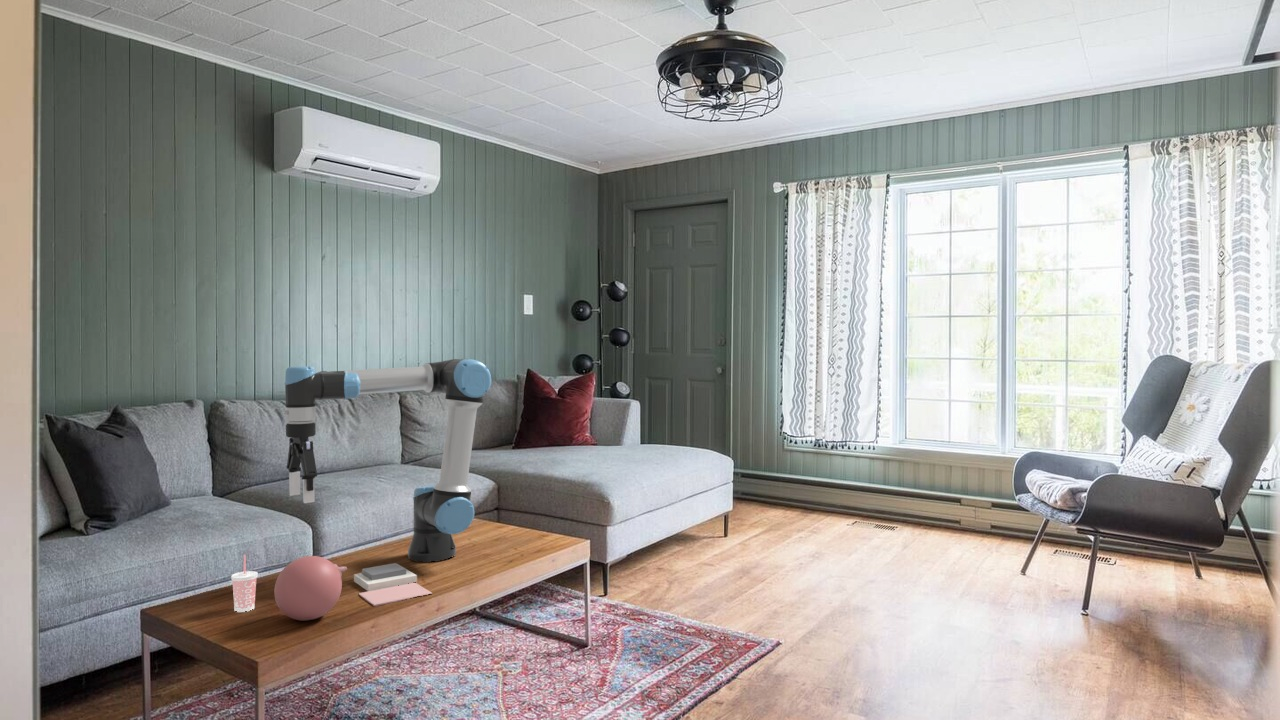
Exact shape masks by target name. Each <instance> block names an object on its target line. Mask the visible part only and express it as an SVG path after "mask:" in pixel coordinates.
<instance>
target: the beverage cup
mask: <svg viewBox="0 0 1280 720" xmlns="http://www.w3.org/2000/svg"><path fill="white" fill-rule="evenodd" d="M246 556H247V555H246V554H243V571H239V572H235V573H233V574H232V575H231V577H230V579H231V581H232V591H233V609H234V612H235V611H237V612H236V613H246V612H245V611H247V612H250V610H251V611H253V610H255V604H256V603H255V602H256V591H257V578H258V574H259V573H258V571H253V570H248V571H247V569H246V568H247V566H246V563H247V562H246V561H247V558H246ZM252 609H253V610H252Z"/></svg>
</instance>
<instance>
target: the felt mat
mask: <svg viewBox="0 0 1280 720" xmlns="http://www.w3.org/2000/svg"><path fill="white" fill-rule="evenodd" d="M428 594H432V595H433V592H431V591H430V590H428V589H427V588H424V586H421V585H420V584H419V583H418V582H416V583H409V584H404V585H399V586H394V587H389V588H383V589H378V590H373V591H364V592H359V593H358V596H360V598H362V599H364V600H365V601H366V602H367V603H369V604H370V605H372V606H373V607H378V606H382V605H388V604H392V603H397V602H402V600H403V601H406V600H405V599H407V600H411V599H410V598H412V599H414V598H413V597H417V596H422V597H424V596H423V595H427V596H429V595H428ZM417 598H418V597H417Z"/></svg>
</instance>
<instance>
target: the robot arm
mask: <svg viewBox="0 0 1280 720" xmlns="http://www.w3.org/2000/svg"><path fill="white" fill-rule="evenodd" d="M315 369H316V368H315V367H314V366H290V367H287V368H286V370H285V374H284V375H285V376H284V378H285V379H284V390H285V391H284V392H285V394H284V395H285V410H284V411H283V414H284V415H285V421H286V422H287V423H286V424H285V437H287V438H289V439H288V440H289V447H288V452H287V453H288V454H287V459H286V460H287V462H286V469H287V470H288V472H289V475H288V479H289V480H288V482H289V483H288V485H289V488H288V490H289V491H288V492H289V496H290V497H292V496H299V495H300V496H301V481H302V493H303V494H302V495H303V497H302V501H303V502H302V503H303V504H311V503H315V502H316V500H315V499H316V498H315V497H316V496H315V493H316V492H315V479H316V477H318V470H317V464H316V460H315V459H316V458H315V453H314V452H315V451H314V442H313V441H312V440H311V441H310V439H309V438H310V437H311V438H312V437H314V436H316V432H317V430H316V428H317V427H316V423H315V420H316V418H317V416H316V415H317V414H316V401H321V400H322V401H323V400H348V399H356V398H358V397H359V395H369V394H372V395H373V394H382V393H383V394H385V393H399V392H400V393H401V392H413V391H424V392H425V393H429V394H430V393H438V394H439V393H440V394H445V396H444V397H445V398H444V400H445V402H446V403H447V404H448V413H447V421H446V427H445V436H444V443H443V444H444V445H443V452H442V459H441V467H440V474H439V481H438V482H437V484H434V485H424V486H417V487H416V488H415V489H414V490H413V497H412V500H413V534H412V537H411V540H410V543H409V546H408V551H407V558H409V560H410V559H411V560H410V561H413V560H415V561H414V562H418V561H423V562H422V563H431V561H435V562H440V561H439V560H442V561H445V560H444V559H447V558H450V557H452V556H454V555H455V554H456V555H457V548H456V544H455V541H454V538H453V535H457V534H461V533H463V532H465V531H466V530H467V529H468V528H469V527H470V526H471V524H472V523H473V521H474V519H475V518H474V517H475V507H474V505H473V503H472V502H471V497H472V489H471V488H470V487H469V485H468V482H469V481H468V480H469V474H470V473H469V472H470V465H471V460H472V459H471V458H472V457H471V456H472V449H473V442H474V434H475V426H476V421H477V420H476V418H477V412H478V411H477V410H478V408H479V407H481V406H482V405H483V403H484V402H483V401H484V395H486V394H487V392H489V390H490V388H491V385H492V375H491V372H490V370H489V368H488V367H487V365H485V364H484V363H483V362H481V361H480V360H477V359H472V358H465V359H464V358H462V359H461V358H453V359H448V360H442V361H436V362H425V363H424V364H423V365H421V366H407V367H406V366H405V367H390V368H389V367H387V368H371V369H367V368H366V369H352V370H350V369H349V370H334V371H333V370H332V371H330V370H329V371H327V370H322V371H318V372H316V370H315ZM301 471H302V473H303V475H302V477H301ZM456 555H455V556H456ZM455 556H454V557H455ZM450 559H451V558H450ZM447 560H448V559H447Z"/></svg>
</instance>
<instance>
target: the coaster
mask: <svg viewBox="0 0 1280 720" xmlns="http://www.w3.org/2000/svg"><path fill="white" fill-rule="evenodd" d="M406 569H407V568H405V567H403V566H402V565H400V564H398V563H397V562H394V563H388V564H383V565H376V566H372V567H366V568H361V573H362V574H363V575H364V576H366V577H367V578H369V579H370V580H378V579H383V578H389V577H394V576H399V575H405V574H406Z"/></svg>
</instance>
